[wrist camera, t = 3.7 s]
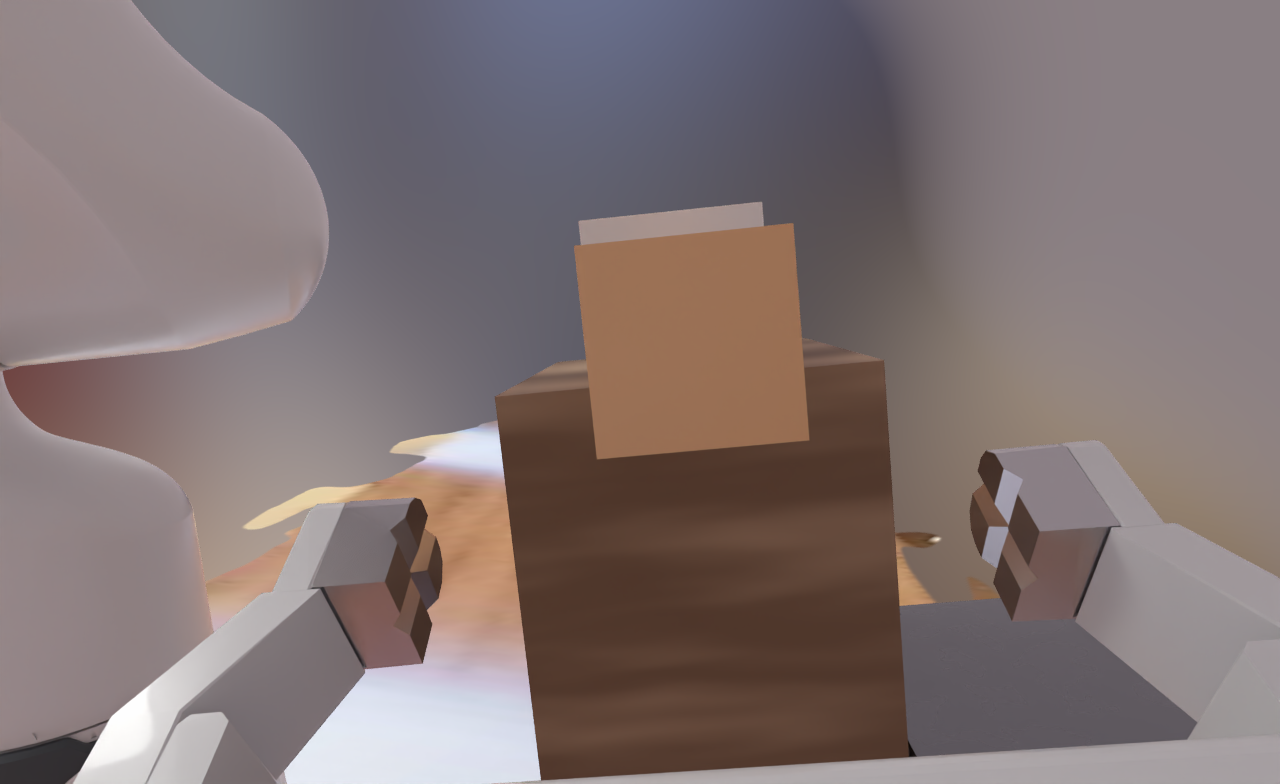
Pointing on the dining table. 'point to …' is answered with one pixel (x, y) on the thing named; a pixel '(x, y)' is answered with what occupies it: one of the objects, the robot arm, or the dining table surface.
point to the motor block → (1020, 685)
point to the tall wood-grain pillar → (707, 585)
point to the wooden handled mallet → (691, 331)
